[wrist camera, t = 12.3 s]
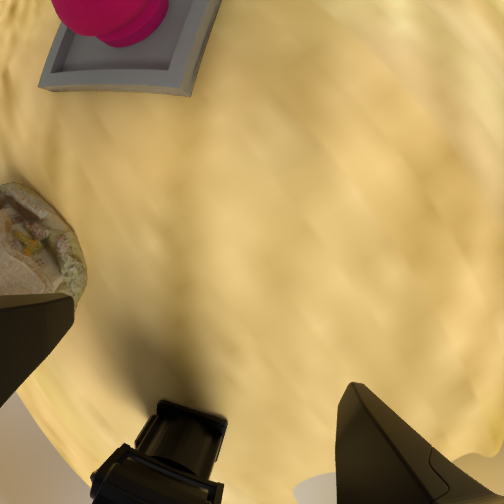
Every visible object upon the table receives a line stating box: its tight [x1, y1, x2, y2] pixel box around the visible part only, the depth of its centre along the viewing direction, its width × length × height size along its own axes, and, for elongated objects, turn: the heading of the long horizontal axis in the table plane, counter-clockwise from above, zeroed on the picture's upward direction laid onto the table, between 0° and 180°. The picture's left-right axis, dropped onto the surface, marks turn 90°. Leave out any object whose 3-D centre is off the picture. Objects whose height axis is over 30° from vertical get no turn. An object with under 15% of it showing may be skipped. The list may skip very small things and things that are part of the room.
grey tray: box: [38, 0, 222, 97], centre depth 17 cm, size 14×14×2 cm
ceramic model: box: [0, 182, 87, 312], centre depth 19 cm, size 14×11×10 cm
